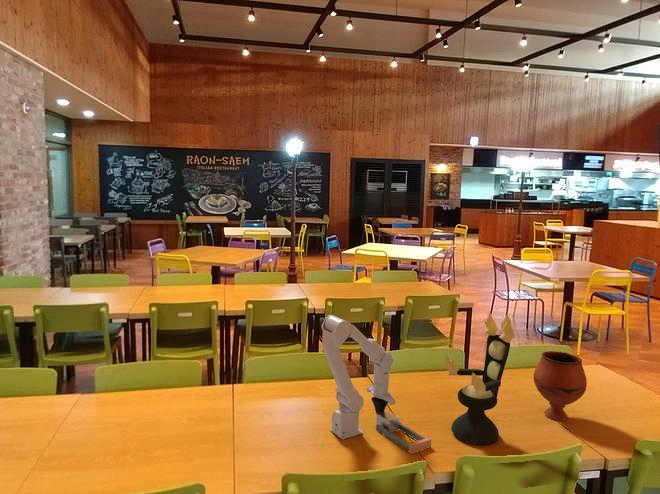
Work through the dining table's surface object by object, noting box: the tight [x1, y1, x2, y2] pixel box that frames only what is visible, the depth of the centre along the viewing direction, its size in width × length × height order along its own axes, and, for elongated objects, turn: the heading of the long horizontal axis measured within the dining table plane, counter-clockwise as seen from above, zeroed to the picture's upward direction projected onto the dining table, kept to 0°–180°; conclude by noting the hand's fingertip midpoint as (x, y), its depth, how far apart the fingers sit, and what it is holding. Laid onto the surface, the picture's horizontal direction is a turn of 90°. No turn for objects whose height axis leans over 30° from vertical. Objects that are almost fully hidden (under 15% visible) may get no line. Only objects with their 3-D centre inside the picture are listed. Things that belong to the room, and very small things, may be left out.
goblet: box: [533, 350, 588, 422], centre depth 203 cm, size 19×19×25 cm
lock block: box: [375, 410, 400, 433], centre depth 190 cm, size 5×7×5 cm
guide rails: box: [375, 421, 432, 454], centre depth 183 cm, size 9×20×3 cm, turn 33°
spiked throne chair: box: [444, 312, 515, 446], centre depth 186 cm, size 19×22×45 cm
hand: (379, 416), depth 194 cm, fingers closed
